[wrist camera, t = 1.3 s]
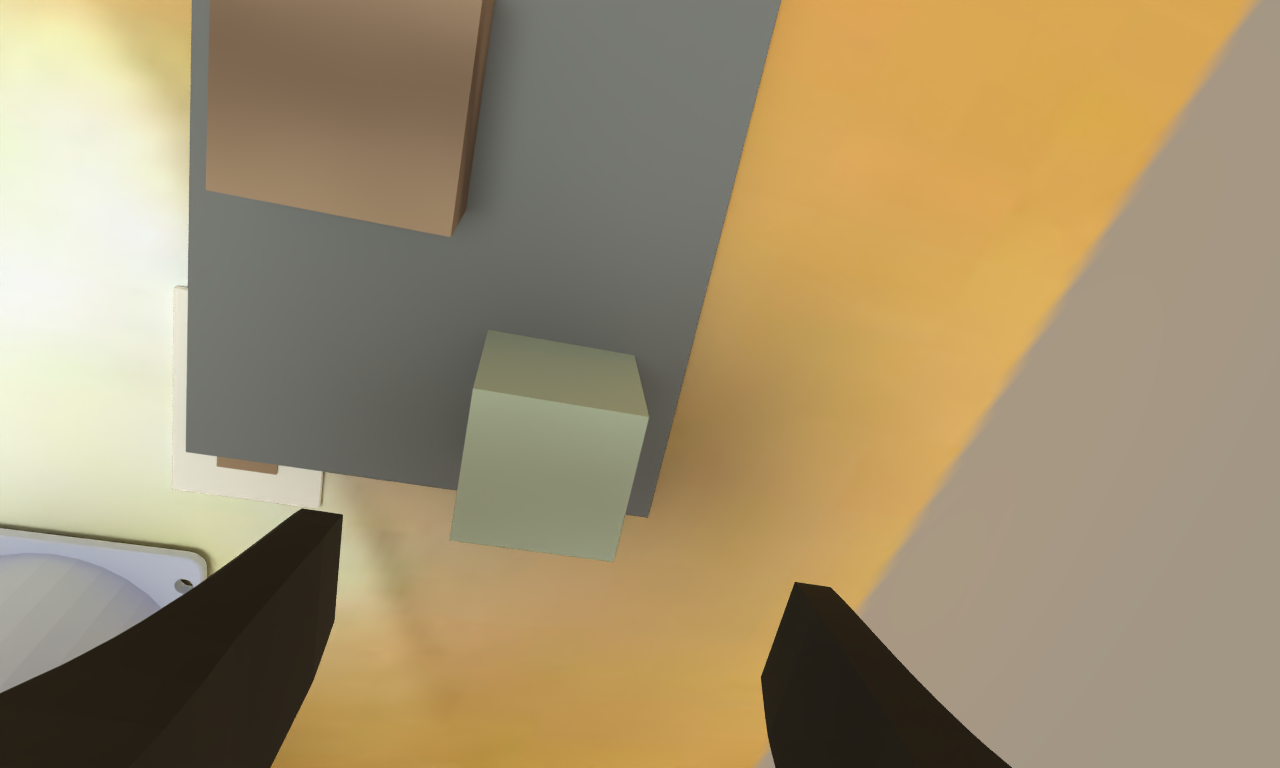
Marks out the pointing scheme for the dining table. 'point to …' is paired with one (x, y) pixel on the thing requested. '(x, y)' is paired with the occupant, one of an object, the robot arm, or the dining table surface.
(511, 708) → the dining table surface
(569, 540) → the sage block
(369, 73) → the walnut block
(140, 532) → the dining table surface
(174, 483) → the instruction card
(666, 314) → the slate mat
